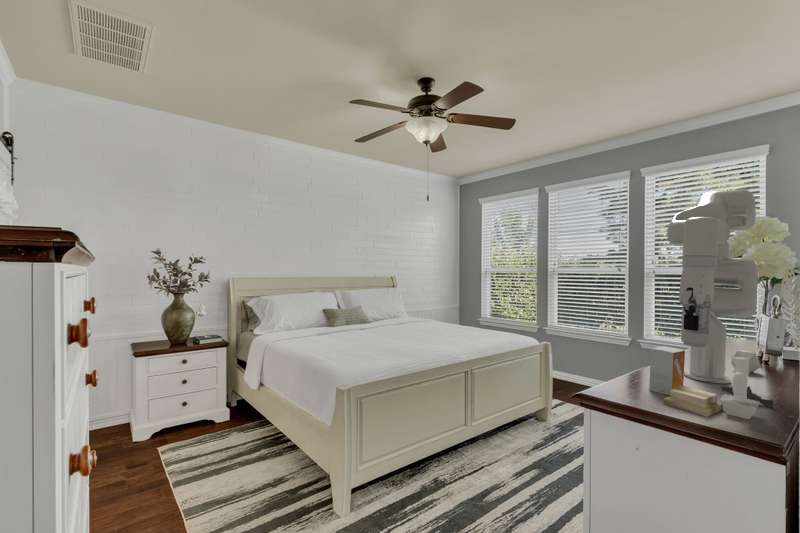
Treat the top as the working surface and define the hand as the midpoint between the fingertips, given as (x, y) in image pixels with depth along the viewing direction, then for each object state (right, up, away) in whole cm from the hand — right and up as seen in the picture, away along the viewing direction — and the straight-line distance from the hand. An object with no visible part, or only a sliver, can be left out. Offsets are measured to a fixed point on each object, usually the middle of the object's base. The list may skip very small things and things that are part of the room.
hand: (696, 328), depth 106 cm
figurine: (+8, -22, -4) cm, 24 cm away
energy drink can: (0, -5, 0) cm, 5 cm away
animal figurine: (+19, -22, +6) cm, 30 cm away
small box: (+1, -22, +13) cm, 25 cm away
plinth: (-1, -21, 0) cm, 21 cm away
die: (+48, -23, +39) cm, 66 cm away
